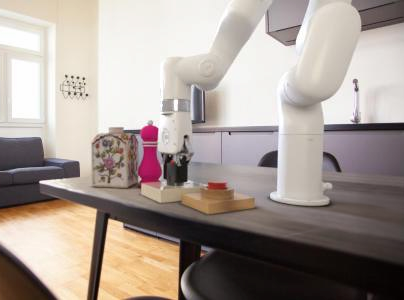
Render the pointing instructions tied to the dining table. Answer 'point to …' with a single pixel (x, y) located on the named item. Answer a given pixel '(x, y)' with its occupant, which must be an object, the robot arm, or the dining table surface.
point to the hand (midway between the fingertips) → (175, 179)
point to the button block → (217, 200)
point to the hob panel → (169, 190)
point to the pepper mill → (149, 155)
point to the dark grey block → (172, 174)
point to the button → (217, 184)
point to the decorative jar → (114, 159)
